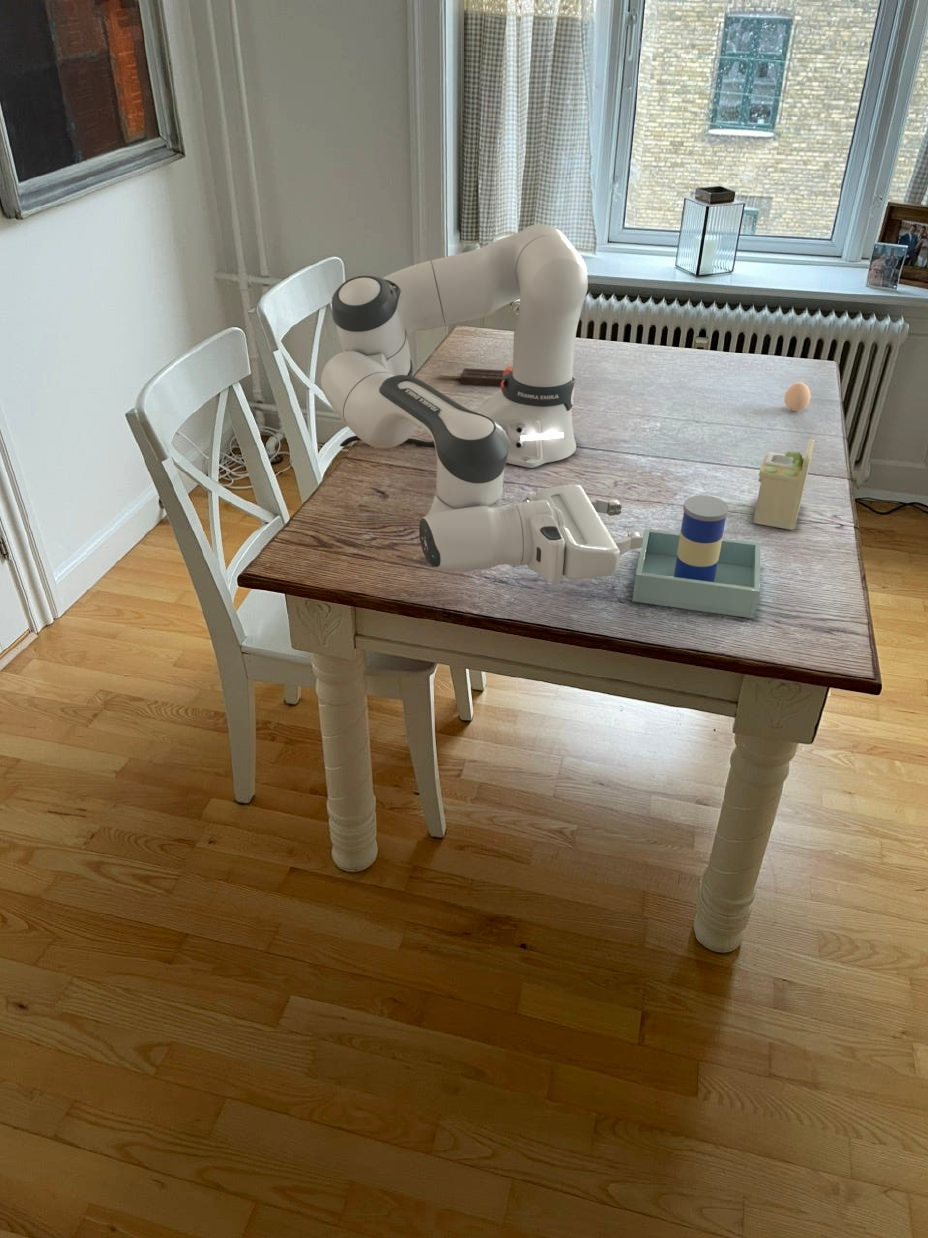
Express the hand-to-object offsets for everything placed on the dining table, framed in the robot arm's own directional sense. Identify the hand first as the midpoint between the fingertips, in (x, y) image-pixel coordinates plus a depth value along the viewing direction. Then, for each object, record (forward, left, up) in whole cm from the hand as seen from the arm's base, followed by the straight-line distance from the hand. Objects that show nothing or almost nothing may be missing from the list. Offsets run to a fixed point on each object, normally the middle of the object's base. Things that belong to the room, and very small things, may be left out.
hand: (630, 523), depth 138 cm
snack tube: (+10, +5, -11) cm, 16 cm away
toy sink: (+22, +30, -12) cm, 39 cm away
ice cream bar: (-42, +75, -12) cm, 86 cm away
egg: (+26, +76, -12) cm, 81 cm away
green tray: (+10, +5, -12) cm, 17 cm away
